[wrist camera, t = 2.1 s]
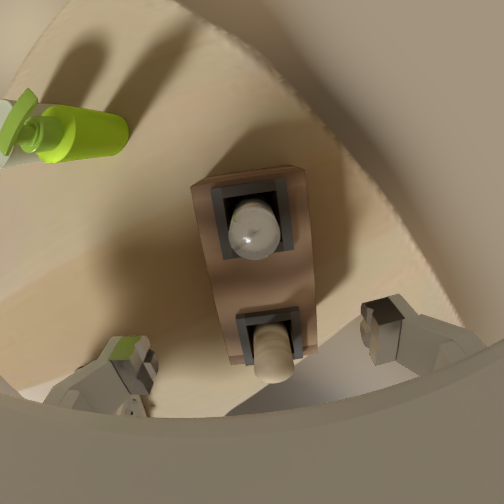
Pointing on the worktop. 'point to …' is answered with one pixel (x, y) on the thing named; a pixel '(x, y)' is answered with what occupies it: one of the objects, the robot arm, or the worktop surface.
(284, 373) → the maple peg
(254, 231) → the steel peg
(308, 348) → the walnut block
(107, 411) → the robot arm
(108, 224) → the worktop surface
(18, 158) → the can
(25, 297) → the worktop surface
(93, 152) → the soap dispenser
